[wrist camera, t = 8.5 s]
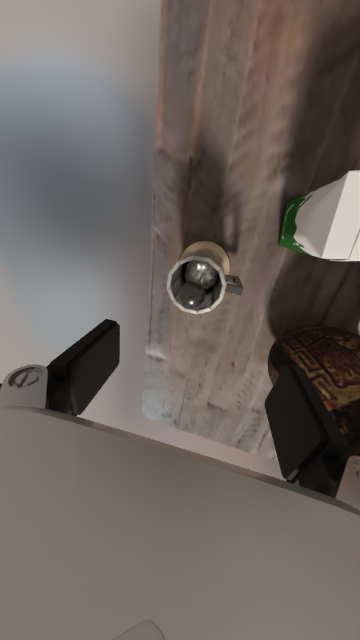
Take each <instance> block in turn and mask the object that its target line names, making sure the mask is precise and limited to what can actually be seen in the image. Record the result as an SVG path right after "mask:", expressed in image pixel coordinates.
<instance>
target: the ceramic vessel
mask: <svg viewBox="0 0 360 640" xmlns="http://www.w3.org/2000/svg"><path fill="white" fill-rule="evenodd" d="M288 365H294V366H298V367H302V368H303V369H304V370H305V372H306V374H307V375H308V377H309V379H310V380H311V382H312V384H313V386H314V387H315V389H316V391H317V392H318V394H319V396H320V397H321V399H322V401H323V402H324V404H325V406H326V407H327V409H328V411H329V412H330V414H331V416H332V417H333V419H334V421H335V422H336V424H337V426H338V427H339V429H340V431H341V432H342V434H343V436H344V437H345V439H346V441H347V442H348V444H349V446H350V447H351V448H350V449H349V452H350V453H351V455H352V456H360V336H359V335H357V334H355V333H352V332H349V331H345V330H342V329H338V328H334V327H327V326H305V327H300V328H297V329H294V330H292V331H290V332H288V333H286V334H284V335H283V336H281V337H280V338H278V339H277V340H276V341H275V342H274V344H273V345H272V347H271V350H270V353H269V357H268V372H269V376H270V379H271V382H272V384H273V386H274V384H275V382H276V380H277V379H278V377H279V375H280V373H281V372H282V370H283V368H284V367H285V366H288Z"/></svg>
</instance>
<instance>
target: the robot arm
mask: <svg viewBox="0 0 360 640" xmlns="http://www.w3.org/2000/svg"><path fill="white" fill-rule="evenodd" d="M119 337H120V326H119V325H118V324H117V322H116V321H113V320H109V319H106V320H104V321H103V322H102V323H100V324H99V325H98V326H97V327H95V328H94V329H93V330H92V331H90V332H89V333H88V334H86V335H85V336H84V337H82V338H81V339H80V340H79V341H77V342H76V343H75V344H73V345H72V346H71V347H70V348H68V349H67V350H66V351H65V352H63V353H62V354H61V355H59V356H58V357H57V358H56V359H54V360H53V361H52V362H51V363H50V364H49V365H48V366H47V367H44V366H42V365H36V364H35V365H27V366H24V367H20V368H18V369H16V370H14V371H12V372H11V373H9V374H8V375H7V376H6V377H5V379H4V381H3V383H2V384H0V640H360V456H352V455H351V453H350V452H349V449H350V448H351V447H350V446H349V444H348V442H347V441H346V439H345V437H344V436H343V434H342V432H341V431H340V429H339V427H338V426H337V424H336V422H335V421H334V419H333V417H332V416H331V414H330V412H329V411H328V409H327V407H326V406H325V404H324V402H323V401H322V399H321V397H320V396H319V394H318V392H317V391H316V389H315V387H314V386H313V384H312V382H311V380H310V379H309V377H308V375H307V374H306V372H305V370H304V369H303V368H302V367H298V366H294V365H288V366H285V367H284V368H283V370H282V372H281V373H280V375H279V377H278V379H277V380H276V382H275V384H274V386H273V388H272V389H271V391H270V393H269V395H268V396H267V398H266V400H265V409H266V413H267V417H268V421H269V425H270V429H271V433H272V437H273V441H274V445H275V449H276V453H277V457H278V461H279V465H280V469H281V473H282V476H283V477H284V478H285V479H286V480H287V482H286V481H283V480H280V479H277V478H274V477H271V476H268V475H265V474H261V473H258V472H255V471H252V470H249V469H246V468H242V467H239V466H236V465H233V464H230V463H227V462H223V461H220V460H217V459H214V458H211V457H208V456H204V455H201V454H198V453H195V452H191V451H188V450H185V449H182V448H179V447H175V446H172V445H169V444H165V443H162V442H159V441H156V440H153V439H150V438H146V437H143V436H140V435H136V434H133V433H130V432H126V431H123V430H120V429H117V428H113V427H110V426H107V425H104V424H100V423H97V422H94V421H90V420H87V419H83V418H79V417H76V416H77V415H80V414H81V413H82V412H83V411H84V410H85V408H86V407H87V406H88V404H89V403H90V402H91V400H92V399H93V398H94V396H95V395H96V394H97V392H98V391H99V390H100V388H101V387H102V386H103V384H104V383H105V382H106V381H107V379H108V378H109V376H110V375H111V374H112V373H113V371H114V370H115V369H116V367H117V366H118V364H119V353H120V350H119V349H120V346H119V345H120V338H119Z"/></svg>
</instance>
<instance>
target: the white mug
mask: <svg viewBox="0 0 360 640" xmlns="http://www.w3.org/2000/svg"><path fill="white" fill-rule="evenodd" d="M193 259H194V260H199V261H205V262H208V263H209V264H210V265H212V266H213V267H214V268H215V269H216V270H217V271H218V276H217V280H216V282H215V283H214V285H213V286H211V287H210V288H208V289H206V290H205V300H204V302H203V304H202V305H201V306H199V307H198V308H194V309H189V308H186V307H184V306H183V305H182V304H181V302H180V300H179V296H178V294H179V290H180V288H181V287H182V286H183V285H184V284H185V283H187V281H186V279H185V269H186V266H187V265H188V263H189V262H190V261H191V260H193ZM226 281H229V282H233V285H230V284H226ZM167 290H168V293H169V295H170V297H171V300H172V302H173V303H174V304H175V305H177V306H178V307H179V308H180V309H181V310H183V311H185V312H190V313H194V314H200V313H204V312H208V311H211V310H213V309H214V308H215V307H216V306H217V305H218V304H219V303H220V302H221V301H222V299H223V296H224V292H225V291H226V292H231V293H236V294H237V295H241V293H242V290H243V286H242V284H241V281H240V279H239V277H238V276H231V275H226V274H225V271H224V266H223V262H222V259H221V257H220V256H219V255H218V254H217V253H216V252H215V251H214V250H212V249H208V248H200V249H197V250H194V251H192V252H190V253H189V254H187V255H186V256H185V257H183V258H182V259H180V260H179V261H178V262H177V263H176V265H175V266H174V267H173V269H172V270H171V271H170V272H169V274H168V283H167Z"/></svg>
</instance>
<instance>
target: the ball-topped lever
mask: <svg viewBox="0 0 360 640" xmlns="http://www.w3.org/2000/svg"><path fill="white" fill-rule="evenodd" d="M217 276H218V271H217V270H216V269H215V268H214V267H213V266H212V265H210V264H209V263H208V262H205V261H199V260H194V259H193V260H191V261H190V262H189V263H188V265H187V266H186V269H185V279H186V281H187V283H185V284H184V285H183V286H182V287H181V288H180V290H179V294H178V296H179V300H180V302H181V304H182V305H183V306H184V307H186V308H189V309H194V308H198V307H199V306H201V305H202V304H203V302H204V300H205V290H206V289H208V288H210V287H211V286H213V285H214V283H215V282H216V280H217Z"/></svg>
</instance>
